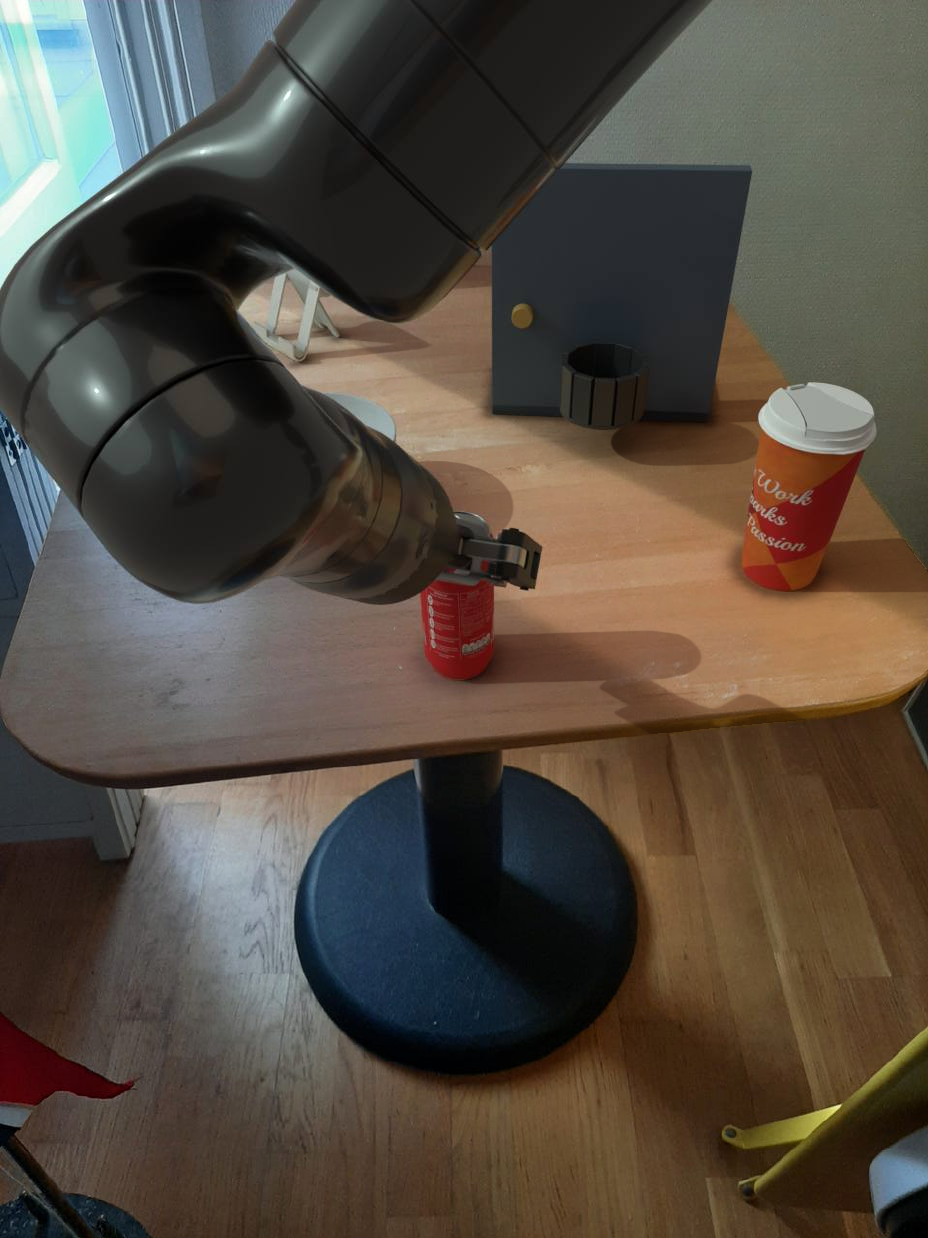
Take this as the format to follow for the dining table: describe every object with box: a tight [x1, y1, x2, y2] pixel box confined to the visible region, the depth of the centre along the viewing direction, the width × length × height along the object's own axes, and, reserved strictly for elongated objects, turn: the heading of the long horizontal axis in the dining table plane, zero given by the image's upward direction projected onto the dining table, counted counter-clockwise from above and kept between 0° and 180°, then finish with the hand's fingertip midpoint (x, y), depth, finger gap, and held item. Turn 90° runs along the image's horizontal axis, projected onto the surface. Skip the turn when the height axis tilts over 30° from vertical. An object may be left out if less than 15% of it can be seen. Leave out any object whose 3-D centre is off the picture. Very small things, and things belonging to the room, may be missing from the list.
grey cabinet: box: [491, 162, 753, 431], centre depth 87 cm, size 22×18×24 cm
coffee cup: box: [741, 381, 878, 592], centre depth 71 cm, size 8×8×15 cm
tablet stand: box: [251, 269, 340, 363], centre depth 106 cm, size 9×8×8 cm
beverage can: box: [419, 510, 495, 681], centre depth 65 cm, size 5×5×12 cm
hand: (437, 559), depth 58 cm, fingers open, 8 cm apart
